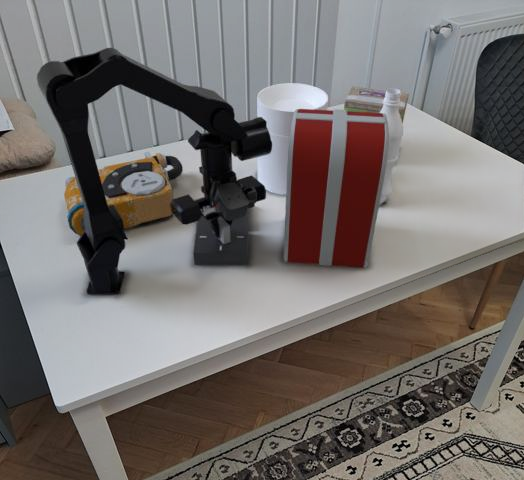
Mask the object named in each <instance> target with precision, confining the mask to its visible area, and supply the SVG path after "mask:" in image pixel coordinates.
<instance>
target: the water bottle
mask: <svg viewBox="0 0 524 480" xmlns="http://www.w3.org/2000/svg"><path fill="white" fill-rule="evenodd" d="M385 91H386V94H385V98H384V100H383V104H384V105H383V108H382V109H381V111H380V113H382V114H383V113H384V114H385V115H386V117H387V121H388V127H389V148H388V158H387V165H386V171H385V177H384V183H383V188H382V193H381V198H380V204H379V206H380V205H381V206H382V204H383V203H386V202H387V201H388V200H389V199H390V196H391V194H392V190H393V187H392V173H393V168H394V166H395V164H396V163H397V161H398V159H399V156H400V149H401V143H402V139H403V135H404V125H403V124H404V123H403V124H402V120H401V117H400V114H399V105H400V95H401V93H402V92H401V90H400V89H398V88H392V87H391V88H387V89H386V90H385Z"/></svg>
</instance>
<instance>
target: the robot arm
mask: <svg viewBox="0 0 524 480" xmlns="http://www.w3.org/2000/svg"><path fill="white" fill-rule="evenodd" d="M36 81H37V86H38V88H39V90H40V93H41V94H42V96H43V98H44V100H45V103H46V104H47V106H48V108H49V110H50V112H51V114H52V116H53V117H54V119H55V121H56V123H57V126H58V127H59V129H60V131H61V136H62V139H63V141H64V146H65V149H66V152H67V155H68V158H69V161H70V165H71V167H72V168H71V169H72V170H73V174H74V177H76V181H77V184H78V187H79V190H80V194H81V197H82V200H83V203H84V214H83V218H84V227H85V231H84V232H83V234H82V235H81V236H79V238H78V239H77V241H76V246H77V247H78V250H79V252H80V254H81V256H82V259H83V262H84V265H85V269H86V272H87V276H88V278H89V282H88V285H87V288H86V291H85V292H86V294H87V295H120V294H121V291H122V287H123V284H124V280H125V277H126V271H123V270H121V271H120V270H119V267H118V266H119V261H120V256H121V254H122V252H123V251H125V248H126V240H129V237H128V235H127V234H126V232H125V228H124V224H123V220H122V218H121V216H120V215H119V213H118V211H117V209H116V208H115V206H114V205H111V206H108V205H107V201H106V197H105V194H104V190H103V186H102V182H101V179H100V175H99V171H98V170H99V168H98V164H97V160H96V157H95V153H94V150H93V146H92V142H91V139H90V134H89V118H90V111H89V104H91V103H94V102H96V101H98V100H100V99H101V98H102V97H103V96H104V95H106V94H107V93H108V92H110V91H111V90H112V89H113V88H115V87H118V86H120V85H121V86H123V87H125V88H126V89H128V90H129V89H130V90H132V91H134V92H136V93H138V94H140V95H143V96H144V97H148V98H149V99H151V100H153V101H156V102H158V103H160V104H163V105H165V106H166V107H168V108H172V109H174V110H176V111H177V112H180V113H182V114H183V115H184V116H186V117H188V118H189V119H190V120H191V121H192V122H194V123H195V124H196V125H198V126H199V127H200V128H201V129H203V130H204V131H206V132H201V131H199V130H198V129H196V130H195V131H194V133H193V134H192V135H191V136H190V137H188V139H187V142H188V144H189V145H190V146H191V147H192V148H193V149H194V150H195V151H199V152H200V163H201V164H200V165H201V166H198V172H199V173H200V174H201V175H202V186H200V191H201V193H202V194H203V196H202V197H200V198H197V199H193V197H192V196H191V195H189V194H185V195H182V196H179V197H175V198H174V199H173V200H172V201H171V204H170V207H171V212H172V213H173V214H172V215H174V217H175V218H176V219H177V220H178V221H179V223H180V224H181V225H184V226H186V225H190V224H193V223H196V222H199V219H200V218H201V216H202V217H203V218H204V219H205V220H207V221H208V222H209V224H210V226H211V228H212V230H213V232H214V234H215V236H216V237H217V238H219V224H218V218H219V217H220V215H219V214H218V213H217V212H216V208H215V207H216V205H217V206H218V208H219V209H220V211H221V217H222V218H223V219H224V220H225V221H226V222H227V223H228V224H229V225H230V227H231V224H232V221H233V219H235V218H238V217H241V216H242V217H243V216H245V215H246V214H247V211H248V209H249V210H250V209H251V208H254V207H255V206H256V203H257V202H261V201H264V200H266V198H267V190H266V188H265V186H264V185H263V184H262V183H260V182H259V181H258V178H256V177H255V176H253V174H252V175H248V176H245V177H242V178H239V179H237V178H238V176H237V173H236V172H235V171H234V170H233V157H235V158H237V159H238V160H239V161H240V162H243V161H249V160H252V159H256V158H258V157H260V156H265V155H269V154H270V153H271V150H272V141H271V138H270V134H269V131H268V129H267V127H266V124H267V122H266V121H265V120H264V119H263V118H262V117H255V118H253V119H250V120H245V121H241V122H238V121H237V120H236V119H235V116H236V114H235V109H234V107H233V106H232V105H231V104H230V103H229V102H228V101H226V99H224V97H222V96H221V95H220V94H219V93H217V92H216V91H215V90H212V89H209V88H205V87H201V86H197V85H188V84H184V83H181V82H180V81H178V80H175V79H174V78H172V77H170V76H168V75H165V74H164V73H161V72H159V71H158V70H155V69H153V68H151V67H149V66H147V65H145V64H143V63H141V62H139V61H137V60H135V59H134V58H131V57H129V56H127V55H124V54H123V53H121V52H120V51H119V50H118V49H117V48H114V47H106V48H103V49H101V50H99V51H96V52H93V53H88V54H83V55H78V56H74V57H70V58H69V59H66V60H64V61H59V60H51V61H48V62H46V63H44V64H43V65H42V66H41V67H40V69H39V71H38V72H37V76H36Z"/></svg>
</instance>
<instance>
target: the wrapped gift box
mask: <svg viewBox="0 0 524 480" xmlns="http://www.w3.org/2000/svg"><path fill="white" fill-rule="evenodd" d="M388 148H389V127H388V121H387V117H386V115H385V114H384V113H383V114H382V113H371V112H352V111H347V110H344V109H339V108H334V109H333V110H329V109H327V110H312V109H299V110H298V109H296V110H295V111H294V113H293V117H292V123H291V129H290V137H289V149H288V165H287V188H286V195H285V215H284V239H283V261H284V262H285V263H295V264H307V265H310V264H311V265H319V266H328V267H331V266H334V267H349V268H363V269H364V268H368V265H369V262H370V257H371V251H372V247H373V241H374V235H375V230H376V225H377V219H378V215H379V209H380V205H379V204H380V198H381V193H382V188H383V183H384V177H385V171H386V165H387V158H388Z"/></svg>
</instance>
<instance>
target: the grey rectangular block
mask: <svg viewBox="0 0 524 480" xmlns="http://www.w3.org/2000/svg"><path fill="white" fill-rule="evenodd" d="M218 224H219V239H220V241H221V242H222V243H223V244H226V243H229V242H231V240H230V225H229V224H228V223H227V222H226V221H225V220H224V219H223V218H222V217H221V216H220V217H219V218H218ZM213 233H214V232H213Z"/></svg>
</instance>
